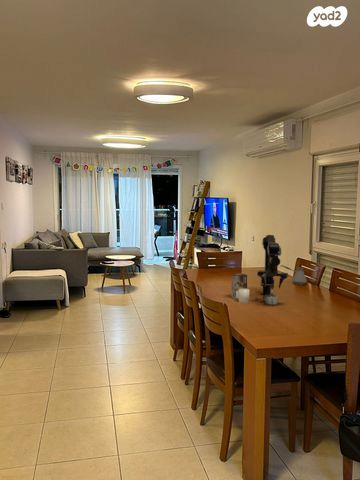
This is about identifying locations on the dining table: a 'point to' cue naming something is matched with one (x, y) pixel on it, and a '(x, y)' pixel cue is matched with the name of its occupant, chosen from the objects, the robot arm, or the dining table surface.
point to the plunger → (272, 291)
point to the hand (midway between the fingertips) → (272, 287)
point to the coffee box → (238, 283)
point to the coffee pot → (298, 276)
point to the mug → (243, 295)
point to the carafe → (271, 300)
